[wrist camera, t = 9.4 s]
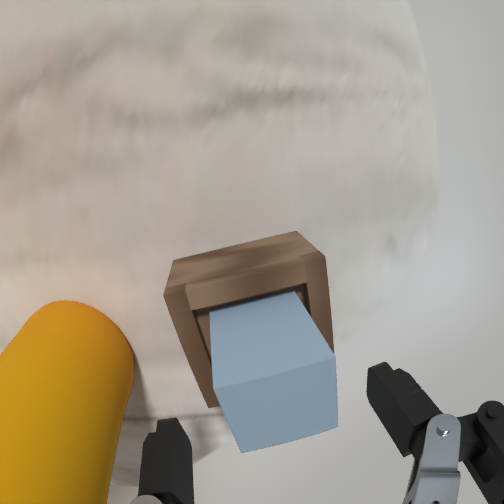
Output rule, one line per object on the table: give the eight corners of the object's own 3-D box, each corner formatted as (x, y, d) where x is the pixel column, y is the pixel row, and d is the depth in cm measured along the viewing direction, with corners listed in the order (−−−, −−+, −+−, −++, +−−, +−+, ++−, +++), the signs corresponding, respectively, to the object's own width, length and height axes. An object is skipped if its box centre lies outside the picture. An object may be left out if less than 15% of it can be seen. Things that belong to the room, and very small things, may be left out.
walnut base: (206, 359, 22) (208, 407, 17) (173, 260, 19) (163, 295, 14) (311, 333, 22) (335, 375, 17) (296, 230, 19) (324, 256, 15)
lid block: (229, 372, 17) (241, 452, 11) (209, 309, 16) (213, 388, 10) (303, 354, 17) (337, 426, 12) (293, 288, 16) (335, 356, 10)
